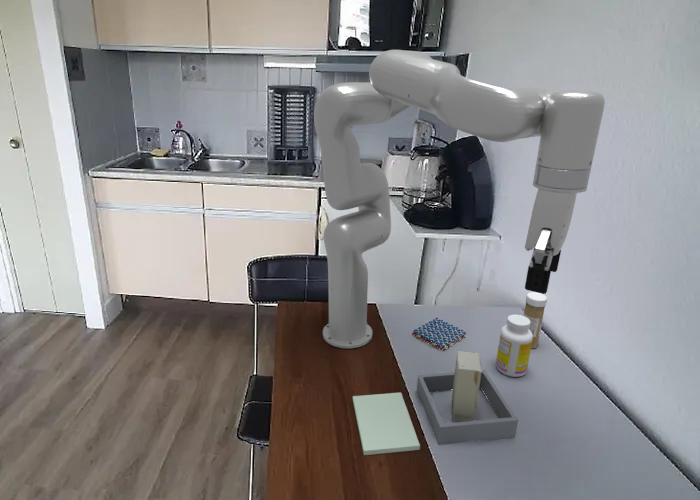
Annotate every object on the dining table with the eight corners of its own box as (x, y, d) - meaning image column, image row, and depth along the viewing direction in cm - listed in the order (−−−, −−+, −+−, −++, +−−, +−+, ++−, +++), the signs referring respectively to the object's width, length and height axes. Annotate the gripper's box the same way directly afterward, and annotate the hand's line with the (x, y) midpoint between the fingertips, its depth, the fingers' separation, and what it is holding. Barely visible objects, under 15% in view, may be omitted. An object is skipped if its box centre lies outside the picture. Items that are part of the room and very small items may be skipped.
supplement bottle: (527, 364, 101) (536, 316, 96) (525, 381, 95) (534, 330, 91) (497, 357, 104) (505, 309, 99) (493, 373, 98) (501, 323, 93)
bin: (416, 390, 92) (417, 375, 91) (482, 385, 94) (484, 369, 93) (438, 444, 79) (440, 427, 77) (515, 437, 81) (518, 420, 79)
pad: (352, 400, 89) (352, 396, 89) (400, 396, 91) (400, 392, 90) (363, 455, 76) (363, 450, 76) (419, 449, 78) (419, 445, 77)
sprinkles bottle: (541, 345, 108) (551, 296, 103) (530, 351, 106) (540, 302, 101) (525, 336, 112) (533, 289, 107) (514, 342, 109) (522, 294, 104)
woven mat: (409, 336, 112) (409, 329, 112) (434, 322, 119) (435, 315, 118) (442, 354, 105) (443, 347, 104) (467, 338, 112) (468, 331, 111)
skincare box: (474, 426, 83) (482, 372, 79) (451, 422, 84) (457, 369, 79) (472, 403, 89) (480, 352, 84) (451, 399, 90) (457, 349, 85)
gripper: (544, 166, 75) (528, 258, 81) (522, 185, 61) (504, 294, 68) (593, 171, 71) (573, 267, 78) (581, 193, 58) (557, 307, 64)
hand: (541, 279), depth 73 cm, fingers open, 9 cm apart
